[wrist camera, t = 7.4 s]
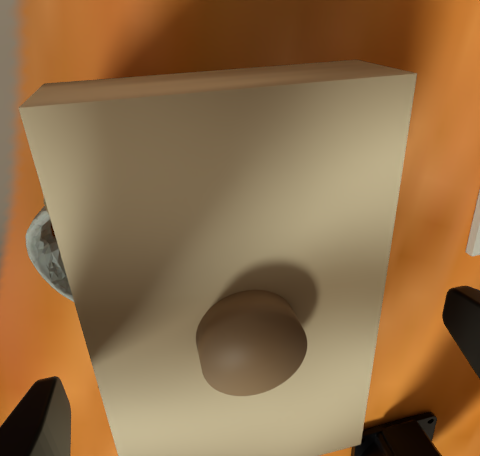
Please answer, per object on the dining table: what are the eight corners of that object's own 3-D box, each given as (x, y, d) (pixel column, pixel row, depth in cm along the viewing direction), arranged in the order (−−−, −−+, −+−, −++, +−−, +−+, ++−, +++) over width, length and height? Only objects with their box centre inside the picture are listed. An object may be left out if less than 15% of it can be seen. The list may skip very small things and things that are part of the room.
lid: (328, 384, 15) (373, 468, 12) (131, 430, 14) (133, 536, 11) (356, 59, 10) (444, 80, 7) (43, 83, 9) (5, 120, 6)
